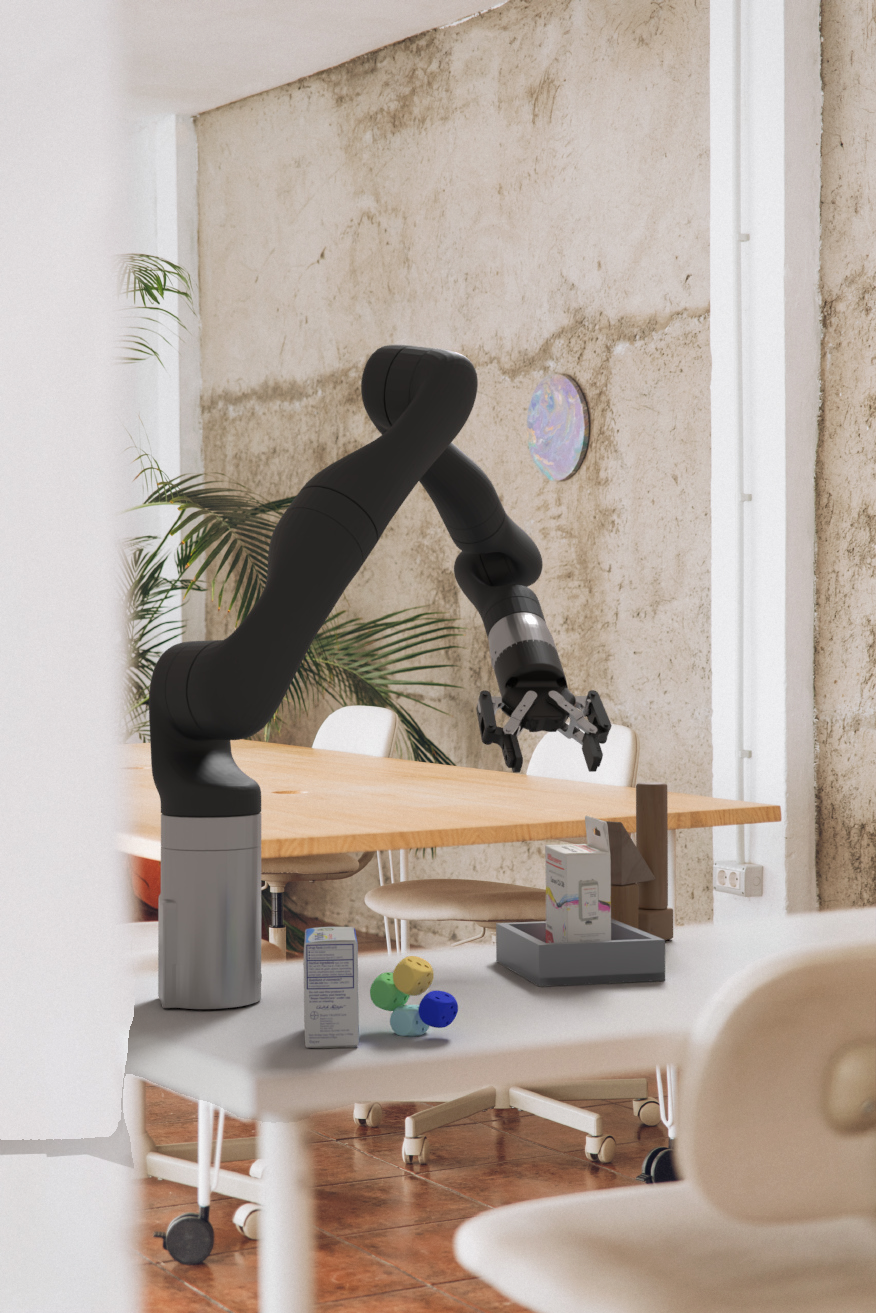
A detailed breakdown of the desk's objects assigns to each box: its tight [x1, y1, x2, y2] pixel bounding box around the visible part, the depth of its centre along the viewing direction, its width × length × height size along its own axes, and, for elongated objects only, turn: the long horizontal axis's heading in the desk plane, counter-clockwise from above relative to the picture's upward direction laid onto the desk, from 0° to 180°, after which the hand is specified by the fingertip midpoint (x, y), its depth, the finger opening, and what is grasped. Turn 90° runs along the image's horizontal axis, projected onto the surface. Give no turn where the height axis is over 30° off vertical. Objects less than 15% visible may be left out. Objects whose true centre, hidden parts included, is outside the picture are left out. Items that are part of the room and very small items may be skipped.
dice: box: [369, 955, 459, 1037], centre depth 133 cm, size 8×3×6 cm, turn 53°
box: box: [495, 919, 666, 988], centre depth 163 cm, size 13×15×4 cm
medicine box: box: [303, 926, 360, 1049], centre depth 132 cm, size 8×4×9 cm, turn 5°
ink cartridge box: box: [544, 815, 611, 943], centre depth 163 cm, size 9×5×15 cm, turn 11°
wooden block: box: [594, 781, 674, 941], centre depth 181 cm, size 4×11×18 cm, turn 140°
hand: (557, 767), depth 171 cm, fingers open, 8 cm apart
